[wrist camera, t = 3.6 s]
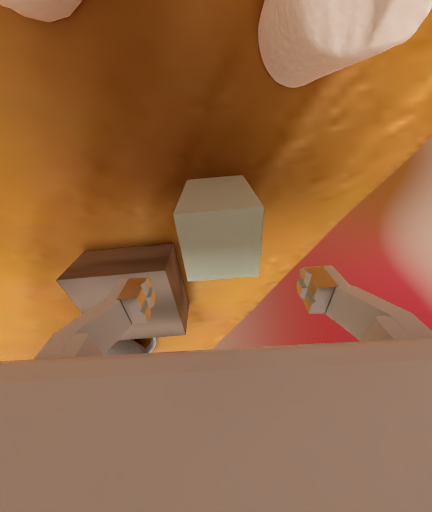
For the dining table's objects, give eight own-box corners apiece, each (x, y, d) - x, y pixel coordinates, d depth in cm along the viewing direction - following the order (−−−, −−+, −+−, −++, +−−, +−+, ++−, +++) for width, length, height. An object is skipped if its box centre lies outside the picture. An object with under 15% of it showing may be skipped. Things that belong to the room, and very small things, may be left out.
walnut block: (85, 250, 21) (55, 280, 17) (173, 241, 21) (165, 270, 17) (119, 308, 27) (103, 341, 23) (189, 302, 27) (185, 334, 22)
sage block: (187, 179, 17) (173, 214, 10) (242, 175, 17) (264, 206, 10) (194, 229, 20) (187, 281, 13) (242, 225, 20) (258, 276, 13)
